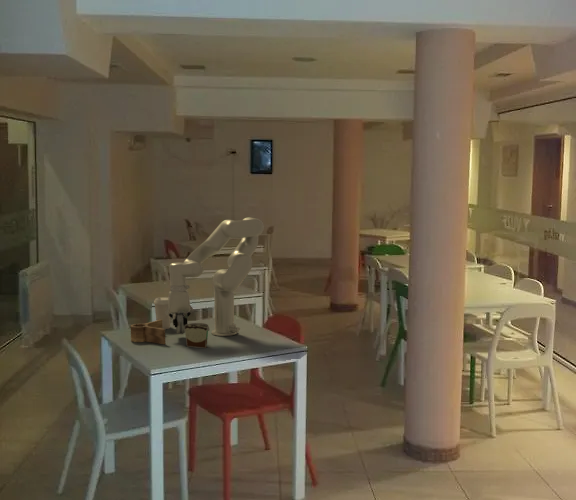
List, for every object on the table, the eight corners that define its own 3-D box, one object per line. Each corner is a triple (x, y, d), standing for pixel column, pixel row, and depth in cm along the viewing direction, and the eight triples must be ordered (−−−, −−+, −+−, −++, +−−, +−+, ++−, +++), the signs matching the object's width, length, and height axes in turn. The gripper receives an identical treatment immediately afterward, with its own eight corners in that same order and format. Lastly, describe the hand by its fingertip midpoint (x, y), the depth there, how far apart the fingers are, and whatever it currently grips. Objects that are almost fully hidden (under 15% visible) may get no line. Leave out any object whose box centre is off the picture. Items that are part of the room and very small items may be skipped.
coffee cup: (157, 325, 372) (156, 296, 370) (175, 326, 371) (174, 297, 369) (151, 329, 363) (150, 300, 361) (169, 330, 361) (169, 300, 360)
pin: (188, 332, 346) (187, 309, 344) (181, 334, 342) (180, 311, 340) (180, 331, 348) (178, 308, 347) (173, 333, 344) (172, 310, 343)
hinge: (186, 337, 346) (186, 323, 345) (158, 345, 329) (158, 330, 328) (155, 332, 356) (155, 318, 355) (127, 340, 339) (127, 326, 339)
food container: (214, 345, 330) (214, 323, 329) (208, 348, 325) (208, 326, 323) (190, 343, 334) (189, 322, 333) (183, 346, 329) (183, 324, 327)
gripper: (195, 286, 348) (197, 323, 350) (160, 288, 344) (162, 326, 346) (196, 288, 340) (198, 326, 343) (161, 291, 337) (163, 329, 339)
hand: (180, 326), depth 345 cm, fingers closed on pin, 4 cm apart
